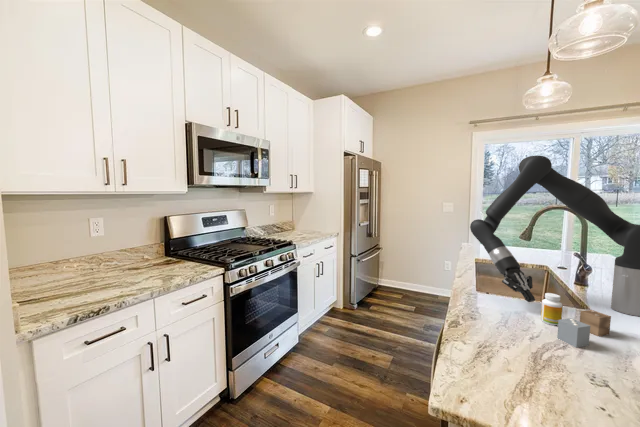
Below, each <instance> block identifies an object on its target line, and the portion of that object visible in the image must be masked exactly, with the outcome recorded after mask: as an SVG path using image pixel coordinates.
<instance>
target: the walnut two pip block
mask: <svg viewBox="0 0 640 427" xmlns="http://www.w3.org/2000/svg"><path fill="white" fill-rule="evenodd" d="M611 319H612V316H611V315H608V314H605V313H602V312H599V311H596V310H593V309H587V310H580V313H579V322H582V323H585V324H587V325H590V335H593V336H596V337H598V336H599V337H603V335H605V336H610V334H611V333H610V332H611V323H612V322H611Z"/></svg>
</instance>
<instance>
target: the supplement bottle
mask: <svg viewBox="0 0 640 427" xmlns="http://www.w3.org/2000/svg"><path fill="white" fill-rule="evenodd" d="M560 301H561V295H558V294H557V293H552V292H545V293H544V299H542V300H541V310H540V320H541V322H542V323H544V324H547V325H549V324H550V325H551V326H554V325H557V327H558V320H560V319H563V318H562V316H563V308H564V307H563V303H562V302H560ZM550 325H549V326H550Z"/></svg>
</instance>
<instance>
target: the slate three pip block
mask: <svg viewBox="0 0 640 427" xmlns="http://www.w3.org/2000/svg"><path fill="white" fill-rule="evenodd" d="M590 335H591V333H590V325H587V324H585V323H582V322H580V320H577V319H575V318H572V317H569V318H562V319H560V320H558V326H557V335H556V336H557V338H558V339H557V338H556V339H557V340H559V339H560V340H559V341H561V340H562V342H563V341H564V343H565V342H566V343H565V344H567V343H568V345H569V346H572V347H573V348H576V349H577V348H582V347H588V346H590V338H591V337H590Z"/></svg>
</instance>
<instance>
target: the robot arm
mask: <svg viewBox="0 0 640 427" xmlns="http://www.w3.org/2000/svg"><path fill="white" fill-rule="evenodd" d="M552 166H553V164H552V161H551V160H550V158H548V157H547V156H545V155H544V156H543V155H529V156H526V157H524V158H522V160H520V162H519V164H518V170H519V174H518V176H517V177H516V178H515V180H514V181H513V182H512V183H511V184H510V185H509V186H508V187H507V188H506V189H505V190H504V191H503V192H501V193H500V194H499V195H498V196H497V197H495V199H494V200H493V202H492V203H491V204H490V205H489V206H488V208H487V209H486V210H485V215H486V216H485V218H484V220H483V219H475V220H473V221H471V223H470V224H469V225H470V226H469V228H470V232H471V233H472V235H473V236H474V238H475V239H476V240H477V241H478V242H479V243H480V244H481V245H482V246H483V247H484V250H486V252H487V254H488V256H489V258H490V259H491V261H492V263H493V265H494V266H495V268H496V269H497V271H498V272H499V273H500V274H501V275H502V276H503V277H504V278H503V279H502V280H501V283H502V284H504V285H505V286H507V287H508V288H510V289H511V290H512V291H514V292H515V293H517V292H518V293H519V294H521V295H522V296H523V298H524V299H525V300H526V302H528V303H533V302H535V301H536V298H535V296H534V294H533V293H532V292H531V289H533V288H534V287H533V286H534V285H533V277H532V276H531V275H528V276H527V275H525V273H524V272H523V271H522V270H521V264H520V263H519V262H518V260H517V259H516V257H515V256H514V255H513V254H512V252H511V250H509V249H508V248H507V246H506V245H505V243H504V242H503V241H502V240H501V238H500V237H498V236H497V235H495V233H496V231H497V230H498V227H499V226H500V223H501V222H502V220H503V219H504V218H505V217H506V216H507V214H508V213H509V212H510V211H511V210H512V209H513V207H514V206H515V205H516V204H517V203H518V202H519V200H521V199H522V197H523V196H524V195H525V194H526V193H528V192H529V190H531V189H532V188H533V187H534V186H535V185H536V184H538V185H539V186H541V187H542V188H544V189H545V190H546V191H547V192H549V193H550V194H551V195H552V196H553V197H554V198H556V199H557V200H558V201H560V203H562V204H563V205H565V206H566V207H567V208H568V209H570V210H571V211H573V212H574V213H576V214H577V215H579V216H581V218H583V219H585V220H586V221H588V222H590V223H591V224H592V225H594V226H595V227H597V228H598V229H599V230H601V231H602V232H603V233H604V234H606V236H607V237H608V238H610V240H612V241H613V242H615V243H616V244H617V245H619V246H621V247H623V251H622V252H623V253H622V254H621V255H620V256H617V257H615V259H614V268H613V277H612V278H613V279H612V289H611V291H612V292H611V301H610V302H611V303H610V308H611V309H612V310H614V311H617V312H618V313H622V314H626V315H629V316H630V315H631V316H635V317H640V224H637V223H636V224H635V223H631V222H629V221H627V220H626V219H624V218H623V217H621V216H619V215H617V214H616V213H615V212H614V211H613V210H612V209H611V207H609V205H608V203H607V202H606V200H605V199H604V198H603V197H601V196H600V195H599V194H598V193H596V192H594V191H593V190H592V189H590V188H588V187H587V186H585V185H584V184H582V183H579V182H578V181H575V180H574V179H571V178H569V177H567V176H564V174H563V175H562V173H559V172H558V171H556V170H555V169H554V168H553V167H552Z"/></svg>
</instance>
